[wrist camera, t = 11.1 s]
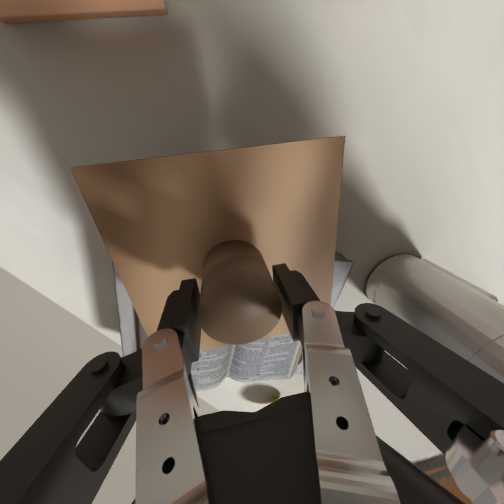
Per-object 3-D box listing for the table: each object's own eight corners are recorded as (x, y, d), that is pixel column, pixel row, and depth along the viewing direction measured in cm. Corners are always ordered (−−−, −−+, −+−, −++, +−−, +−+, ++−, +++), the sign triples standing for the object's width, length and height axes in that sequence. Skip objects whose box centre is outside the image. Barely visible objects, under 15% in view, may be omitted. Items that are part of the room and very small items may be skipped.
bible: (143, 174, 22) (96, 192, 13) (348, 245, 30) (403, 286, 21) (114, 335, 31) (74, 410, 22) (280, 358, 38) (299, 420, 30)
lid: (334, 136, 13) (411, 129, 8) (322, 315, 19) (360, 375, 14) (83, 165, 11) (-21, 180, 6) (161, 346, 18) (139, 424, 13)
